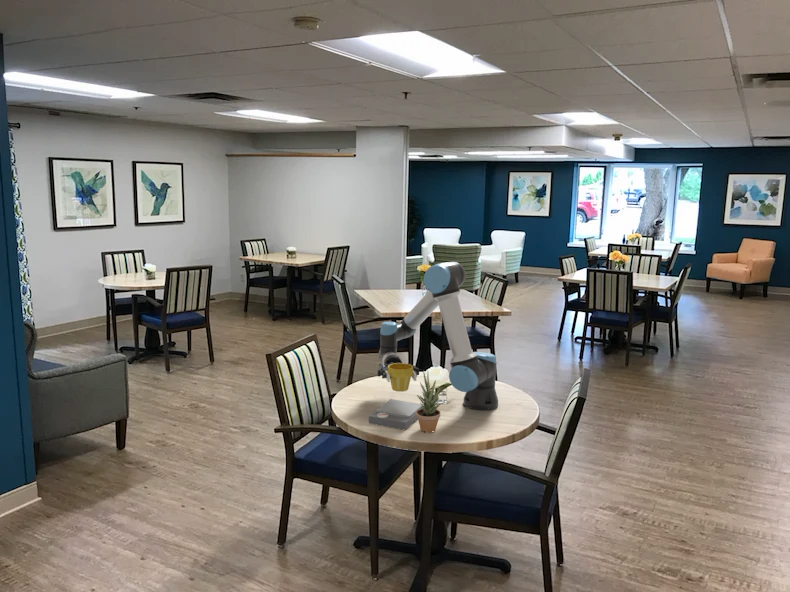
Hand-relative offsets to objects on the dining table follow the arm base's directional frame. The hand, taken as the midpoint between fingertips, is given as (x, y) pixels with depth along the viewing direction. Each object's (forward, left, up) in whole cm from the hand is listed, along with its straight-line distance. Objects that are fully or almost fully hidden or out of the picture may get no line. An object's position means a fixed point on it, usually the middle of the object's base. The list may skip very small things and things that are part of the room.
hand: (402, 378), depth 255 cm
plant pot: (+2, -3, -6) cm, 7 cm away
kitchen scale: (+2, -2, -18) cm, 18 cm away
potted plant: (-13, +5, -18) cm, 23 cm away
